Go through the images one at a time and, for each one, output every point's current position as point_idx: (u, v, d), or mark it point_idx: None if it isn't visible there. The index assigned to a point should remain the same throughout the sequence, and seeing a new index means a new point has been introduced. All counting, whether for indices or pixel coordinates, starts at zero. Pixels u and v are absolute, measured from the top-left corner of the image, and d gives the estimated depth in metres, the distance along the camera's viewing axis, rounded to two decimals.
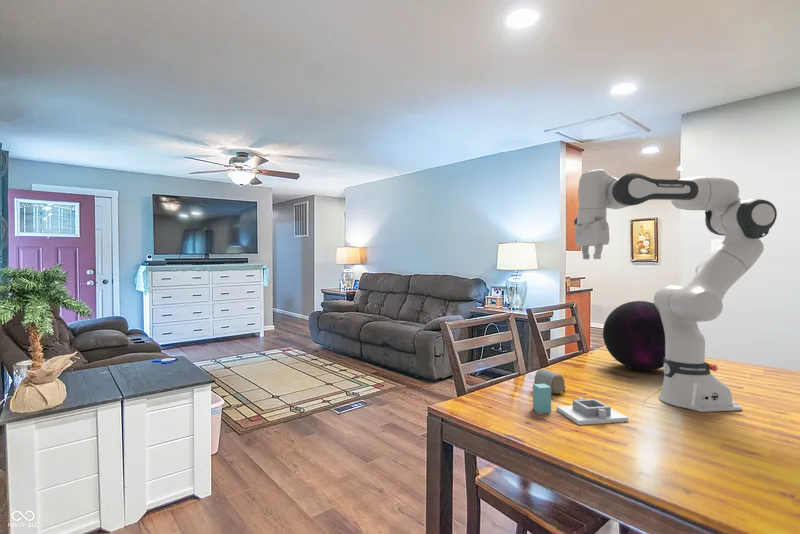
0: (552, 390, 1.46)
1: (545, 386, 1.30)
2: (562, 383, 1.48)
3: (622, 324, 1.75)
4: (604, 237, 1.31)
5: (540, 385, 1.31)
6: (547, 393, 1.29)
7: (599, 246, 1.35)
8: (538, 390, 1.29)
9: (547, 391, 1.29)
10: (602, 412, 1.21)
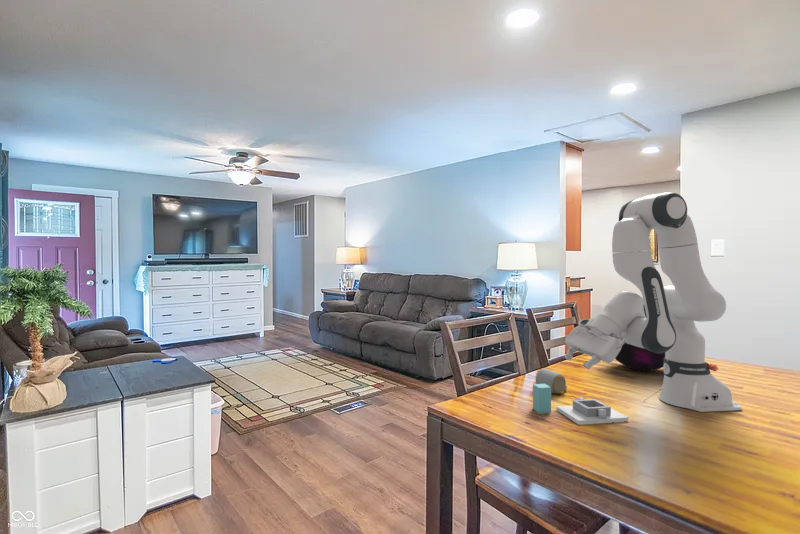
0: (553, 390, 1.47)
1: (545, 386, 1.30)
2: (563, 383, 1.48)
3: None
4: (612, 355, 1.24)
5: (540, 385, 1.31)
6: (547, 393, 1.29)
7: (598, 359, 1.27)
8: (538, 390, 1.29)
9: (547, 391, 1.29)
10: (602, 412, 1.21)
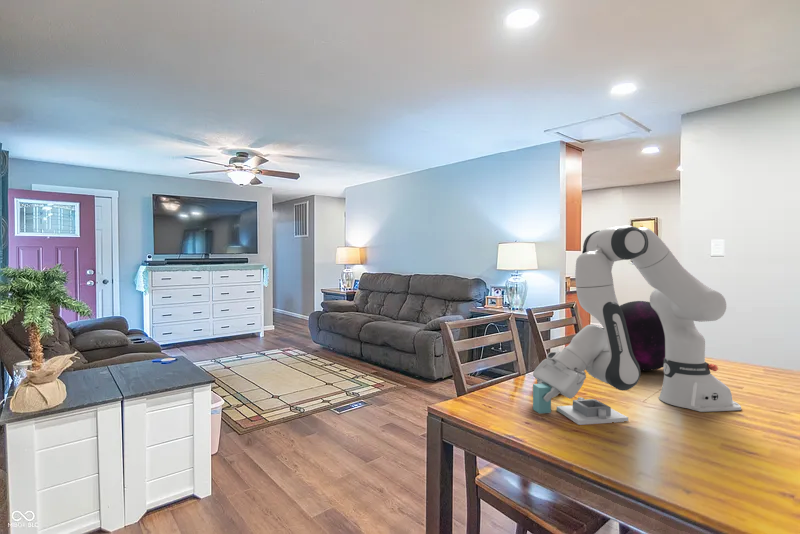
0: None
1: (545, 386, 1.30)
2: None
3: None
4: (572, 391, 1.22)
5: (540, 385, 1.31)
6: None
7: (556, 391, 1.27)
8: (538, 390, 1.29)
9: (546, 391, 1.29)
10: (602, 412, 1.21)
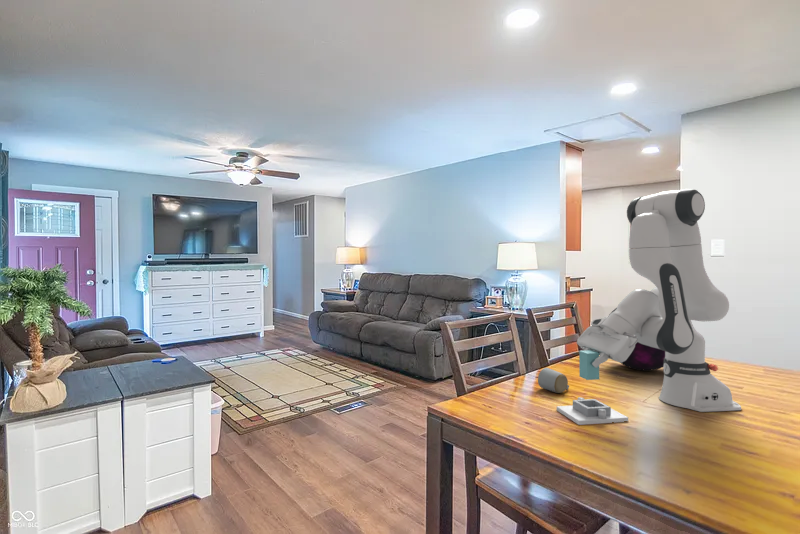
0: (555, 389, 1.47)
1: (593, 352, 1.26)
2: (565, 382, 1.49)
3: None
4: (624, 354, 1.18)
5: (587, 351, 1.27)
6: None
7: (605, 357, 1.23)
8: (586, 356, 1.26)
9: (595, 356, 1.25)
10: (602, 412, 1.21)
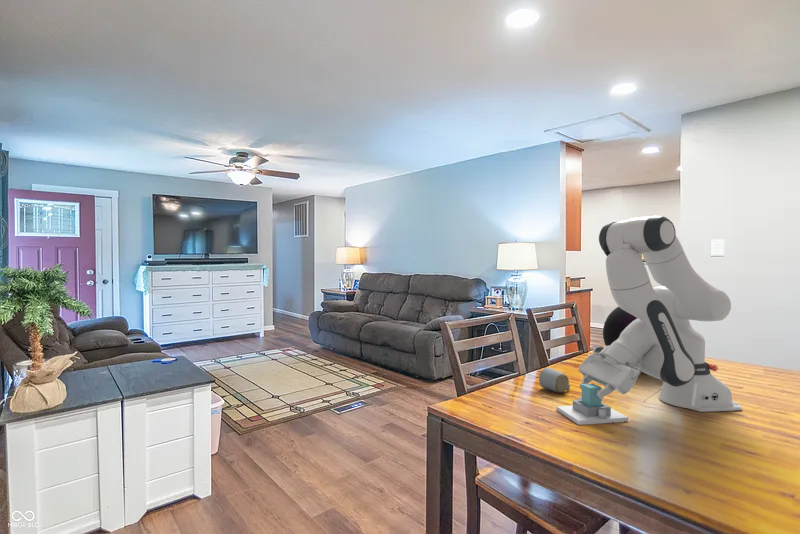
0: (556, 389, 1.47)
1: (595, 386, 1.26)
2: (566, 382, 1.49)
3: (622, 324, 1.75)
4: (627, 386, 1.18)
5: (589, 385, 1.27)
6: None
7: (610, 388, 1.22)
8: (588, 391, 1.25)
9: None
10: (602, 412, 1.21)
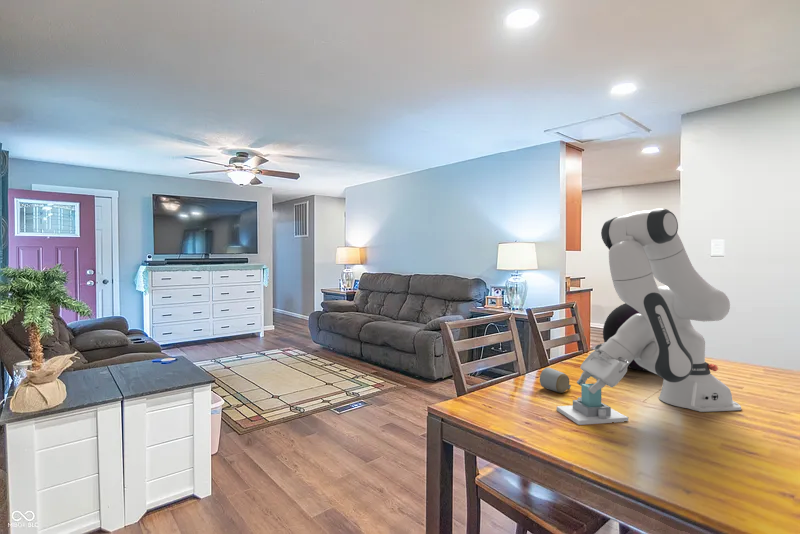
0: (557, 389, 1.48)
1: None
2: (567, 382, 1.50)
3: None
4: (614, 379, 1.19)
5: (589, 385, 1.27)
6: (597, 393, 1.25)
7: (602, 383, 1.22)
8: (588, 390, 1.25)
9: (597, 391, 1.25)
10: (602, 412, 1.21)
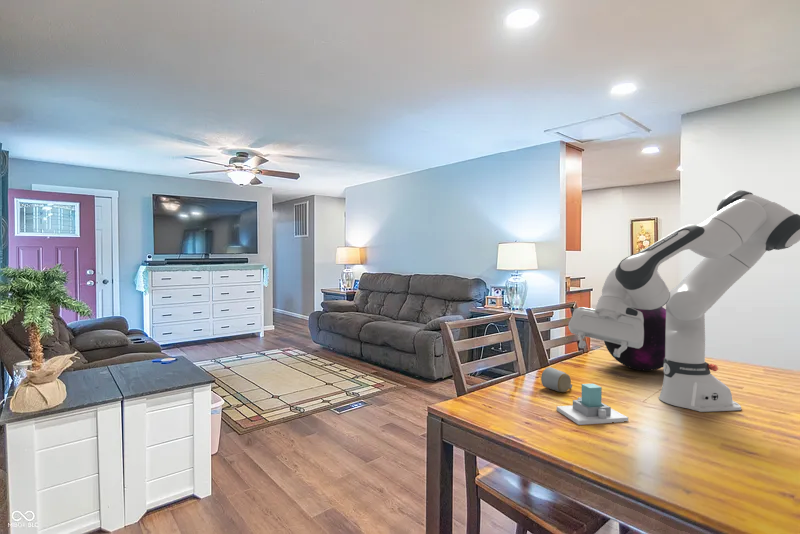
0: (558, 388, 1.48)
1: (595, 386, 1.26)
2: (568, 382, 1.50)
3: None
4: None
5: (589, 385, 1.27)
6: (597, 393, 1.25)
7: None
8: (588, 391, 1.25)
9: (597, 391, 1.25)
10: (602, 412, 1.21)
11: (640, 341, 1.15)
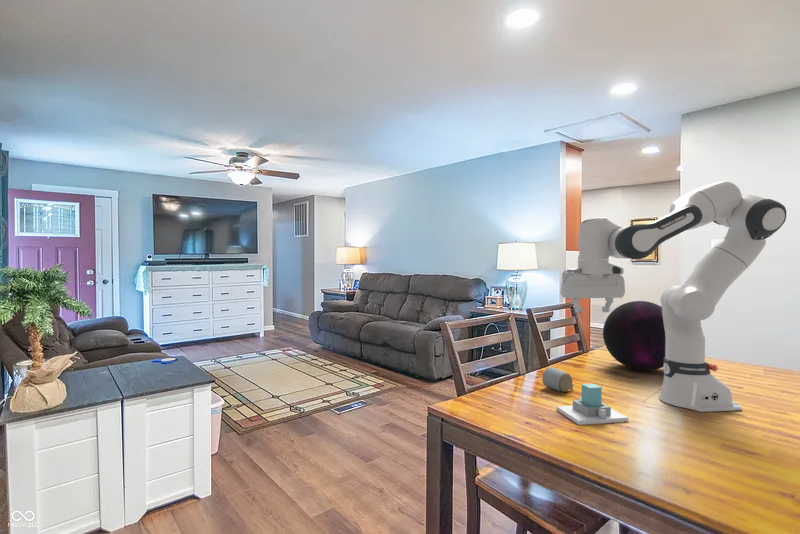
0: (560, 388, 1.48)
1: (595, 386, 1.26)
2: (570, 381, 1.50)
3: (622, 324, 1.75)
4: (563, 291, 1.30)
5: (589, 385, 1.27)
6: (597, 393, 1.25)
7: (573, 299, 1.30)
8: (588, 391, 1.25)
9: (597, 391, 1.25)
10: (602, 412, 1.21)
11: (623, 295, 1.32)
